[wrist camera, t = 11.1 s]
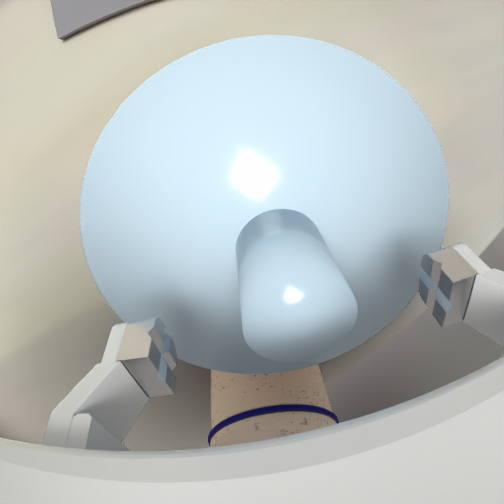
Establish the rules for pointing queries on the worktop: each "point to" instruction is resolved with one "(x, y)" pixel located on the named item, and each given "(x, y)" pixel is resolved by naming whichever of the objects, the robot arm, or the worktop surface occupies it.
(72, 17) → the mat
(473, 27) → the worktop surface
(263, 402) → the teacup with lid
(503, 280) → the robot arm
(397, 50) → the worktop surface
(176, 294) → the lid
